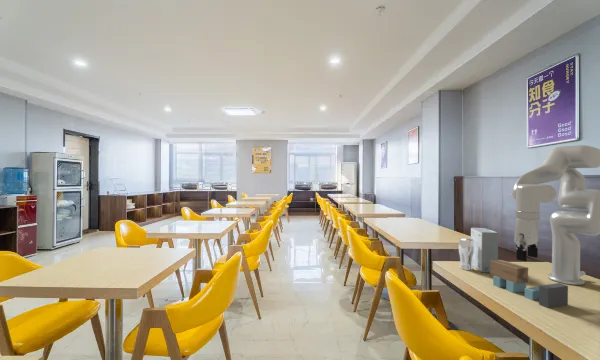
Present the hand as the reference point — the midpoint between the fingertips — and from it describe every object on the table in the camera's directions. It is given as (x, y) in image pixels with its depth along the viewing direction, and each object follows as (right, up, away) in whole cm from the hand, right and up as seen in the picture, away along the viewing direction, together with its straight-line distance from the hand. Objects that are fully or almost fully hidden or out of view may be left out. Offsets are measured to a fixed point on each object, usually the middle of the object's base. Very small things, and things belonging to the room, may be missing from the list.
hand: (527, 258), depth 118 cm
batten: (+1, -15, -3) cm, 15 cm away
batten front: (-1, -14, +4) cm, 15 cm away
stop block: (+2, -15, -9) cm, 17 cm away
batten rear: (-3, -14, +10) cm, 18 cm away
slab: (-2, -10, +7) cm, 13 cm away
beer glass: (-6, -14, +34) cm, 37 cm away
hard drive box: (+4, -14, +34) cm, 37 cm away
